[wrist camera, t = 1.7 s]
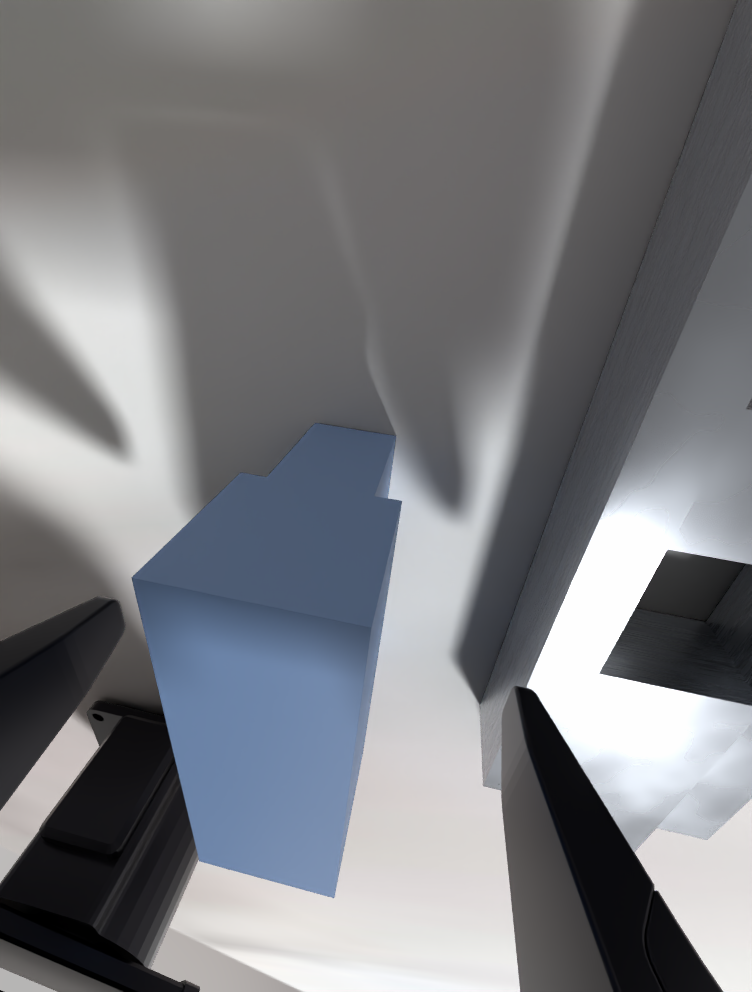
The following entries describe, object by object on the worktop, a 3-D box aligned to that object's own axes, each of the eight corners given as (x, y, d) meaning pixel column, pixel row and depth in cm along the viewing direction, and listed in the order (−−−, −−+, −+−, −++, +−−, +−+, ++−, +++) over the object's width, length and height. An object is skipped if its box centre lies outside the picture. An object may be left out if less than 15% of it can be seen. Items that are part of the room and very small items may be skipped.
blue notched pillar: (380, 663, 14) (333, 898, 9) (293, 644, 14) (199, 860, 9) (416, 439, 10) (371, 627, 5) (295, 419, 10) (131, 577, 5)
